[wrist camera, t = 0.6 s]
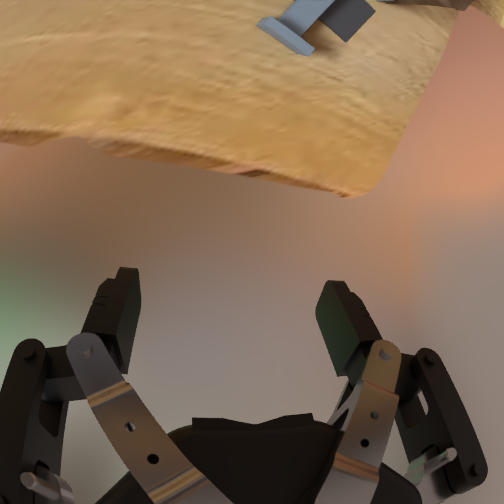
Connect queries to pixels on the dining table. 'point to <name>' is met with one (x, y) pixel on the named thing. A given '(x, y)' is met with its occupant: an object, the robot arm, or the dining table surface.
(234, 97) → the dining table surface
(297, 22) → the sled frame
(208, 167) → the dining table surface
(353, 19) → the mat
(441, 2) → the small brown wooden table
